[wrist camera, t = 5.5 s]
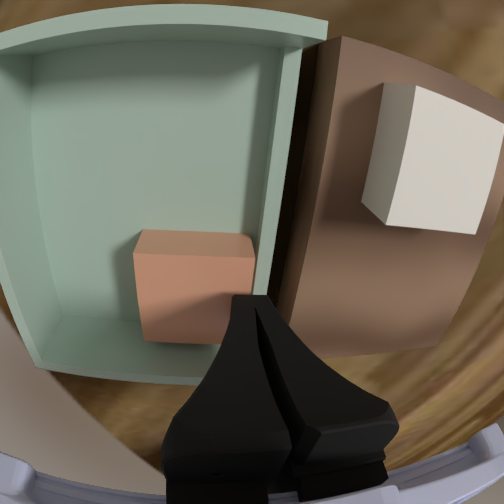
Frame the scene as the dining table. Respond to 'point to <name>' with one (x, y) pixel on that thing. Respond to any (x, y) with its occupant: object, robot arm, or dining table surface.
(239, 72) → the green bin
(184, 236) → the terracotta tile
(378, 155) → the white tile
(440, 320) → the walnut plate
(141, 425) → the dining table surface
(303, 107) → the dining table surface
